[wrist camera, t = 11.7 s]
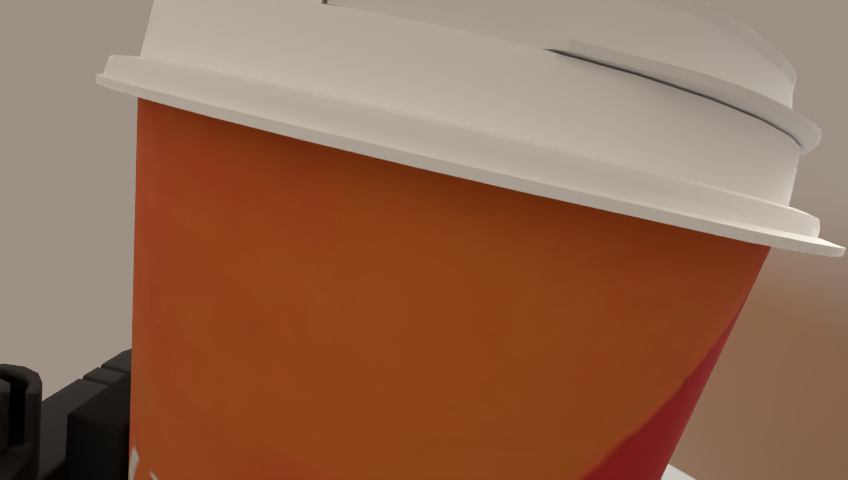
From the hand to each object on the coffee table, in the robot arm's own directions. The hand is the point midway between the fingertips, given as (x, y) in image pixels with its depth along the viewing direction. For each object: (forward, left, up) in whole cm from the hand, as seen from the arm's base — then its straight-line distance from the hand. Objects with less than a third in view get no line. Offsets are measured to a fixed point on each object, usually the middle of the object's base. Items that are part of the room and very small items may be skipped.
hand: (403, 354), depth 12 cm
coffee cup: (+2, -5, -8) cm, 10 cm away
